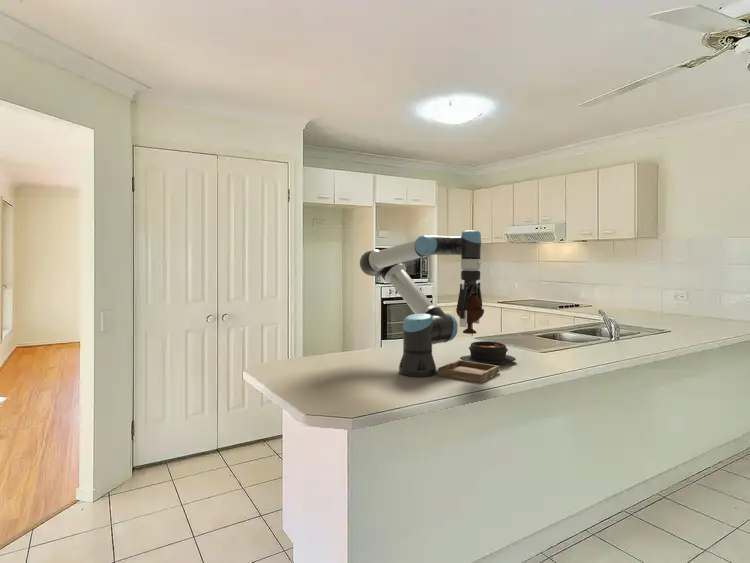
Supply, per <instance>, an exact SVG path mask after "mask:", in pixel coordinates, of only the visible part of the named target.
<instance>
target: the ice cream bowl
mask: <svg viewBox="0 0 750 563" xmlns="http://www.w3.org/2000/svg"><path fill="white" fill-rule="evenodd" d="M480 304H481V302H480V299H479V298H478V297H477V296H474V295H472V296H470V297H469V301H468V304H467V307H466V310H467V327H466V328H465V329H464V330H462V333H463V334H467V335H468V334H469V335H474V334H477V331H476V330H475V329H473V324H474V323H473V322H475V321H477V320H479V321H480V319H481V318H482V317H483V315H484V313H485V309H484V308H483V306H482V307H481V305H480ZM455 311H456V314H457V316H458V317H459V318H460V310H457V307H456V308H455Z"/></svg>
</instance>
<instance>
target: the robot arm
mask: <svg viewBox="0 0 750 563" xmlns="http://www.w3.org/2000/svg"><path fill="white" fill-rule="evenodd" d="M481 238H482V234H481V232H480V231H479V230H463V231H462V232H461V235H459V236H457V235H456V236H453V235H452V236H449V235H446V236H445V235H431V234H427V235H426V234H425V235H420V236H418V237H417V239H415V240H410V241H408V242H403V243H400V244H398V245H393V246H390V247H387V248H384V249H380V250H379V249H372V250H370V251H366V252H364V253H363V254H362V255H361V257H360V259H359V267H360V269H361V271H362V273H364V274H365V275H367V276H371V277H382V279H383V280H384V282H385V283H386V284H391V285H392V286H393V288H394V289H395V290H396V292H397V293H398V294H399V295H400V297H401V298H402V299H403V300H404V301H405V303H406V304H407V305H408V307H409V309H410V310H411V311H412V312H413V314H409V315H407V316H406V317H405V318H404V319H403V324H402V325H403V326H402V330H403V331H402V334H403V335H402V338H403V339H402V340H403V342H402V343H403V344H402V346H403V348H402V351H403V352H402V356H401V358H400V361H399V366H398V373H399V374H400V375H403V376H407V377H416V378H424V377H432V376H435V375H436V374H437V366H436V363H435V360H434V356H433V345H436V344H441V343H448V342H450V341H453V340H454V339H455V338H456V336H457V333H458V330H459V329H458V327H460V328H461V327H462V328H467V326H468V324H467V310H466V307H467V304H468V301H469V297H470V296H472V295H474V296H477V297H478V298H479V299H480V302H481V304H480V305H481V307H482V308H483V300H482V299H483V298H482V292H481V282H478V281H479V280H481V271H480V270H481V265H482V261H481V252H482V251H481V250H482V239H481ZM437 255H438V256H439V255H440V256H442V255H443V256H457V255H458V256H460V257H461V259H460V260H461V261H460V265H461V266H460V269H461V272H460V279H461V280H462V281H464V282H463V283H460V284H459V293H458V300H457V305H456V308H457V310H460V317H459V323H458V321H457V319H456V317H455V316H454V315H452V314H449V313H445V312H444V311H443V310H442V309H441V307H440V306H434V305H433V303H432V302H431V301H430V299H429V298H428V297H427V296H426V295H425V293H424V292H423V290H422V289H420V287H419V286H418V285H417V283H416V282H415V281H414V280H413V279H412V277H410V275H409V274H408V273H407V272H406V270H407V267H406V262H409V261H410V262H411V261H413V260H416V259H421V258H424V257H429V256H437ZM472 324H480V319H479V320H477V321H475V322H473V323H472Z"/></svg>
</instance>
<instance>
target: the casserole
mask: <svg viewBox="0 0 750 563" xmlns="http://www.w3.org/2000/svg"><path fill="white" fill-rule="evenodd" d="M468 349H469V351H470V354H469V355H464V356H460V357H459V360H463V361H469V362H476V363H483V364H490V365H496V366H498V365H497V364H499V365H501V364H505V363H509V362H515V361H516V358H515V357H514V356H512V355H509V354H507V352H508V351H509V349H508V348H507V345H506V344H505V343H502V342H498V341H497V342H496V341H489V340H488V341H487V340H485V341H483V340H479V341H474V342H471V343H470V346H469V347H468Z"/></svg>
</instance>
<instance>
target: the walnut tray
mask: <svg viewBox="0 0 750 563" xmlns="http://www.w3.org/2000/svg"><path fill="white" fill-rule="evenodd" d="M498 372H499V373H500V365H490V364H483V363H476V362H469V361H463V360H461V359H458V360H455V361H452V362H449V363H447V364H445V365H442V366H440V367H438V368H437V375H438V376H440V377H446V378H452V379H457V380H461V379H463V380H462V381H467V380H469V381H468V382H473V381H475V382H474V383H478V382H481V383H483V382H485V381H487V380H489V379H490V377H491V376H493V375H495V374H497V373H498ZM497 375H498V374H497ZM495 376H496V375H495ZM493 377H494V376H493ZM488 378H489V379H488ZM491 378H492V377H491ZM486 379H487V380H486ZM484 380H485V381H484ZM482 381H483V382H482Z"/></svg>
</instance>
